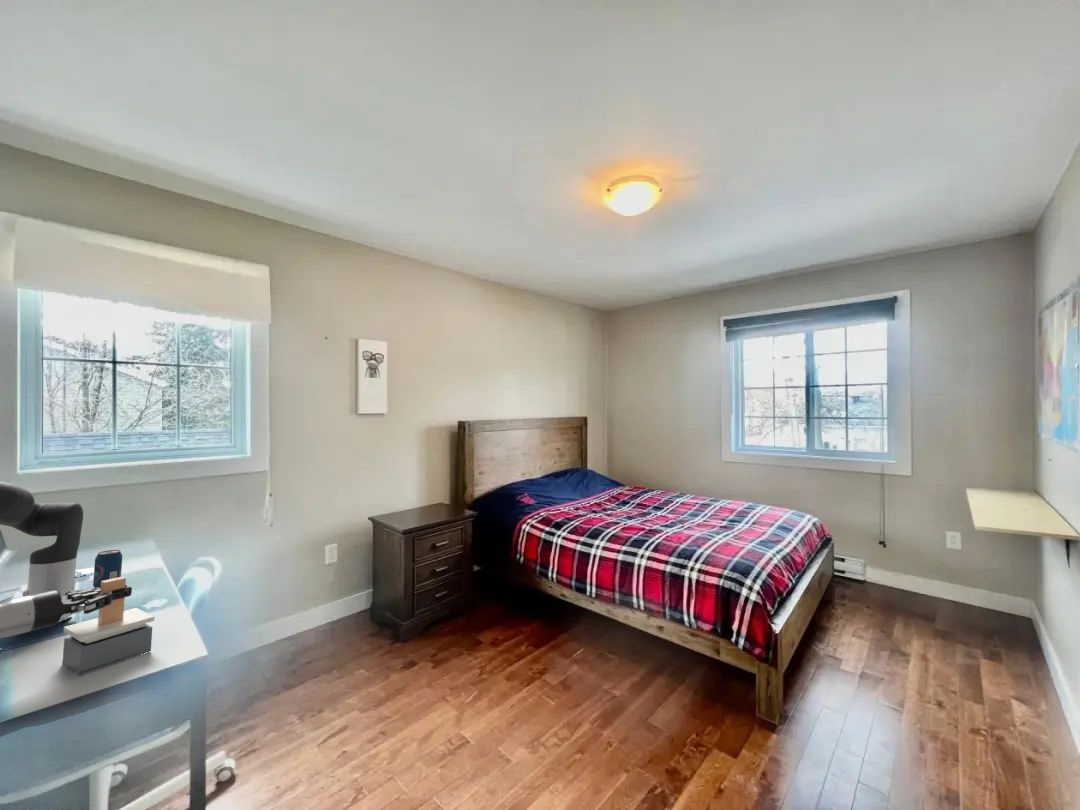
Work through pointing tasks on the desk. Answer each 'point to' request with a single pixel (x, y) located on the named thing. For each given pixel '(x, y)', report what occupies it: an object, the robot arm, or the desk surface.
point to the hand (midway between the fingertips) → (128, 590)
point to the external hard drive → (86, 571)
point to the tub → (105, 650)
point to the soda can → (107, 566)
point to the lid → (109, 617)
